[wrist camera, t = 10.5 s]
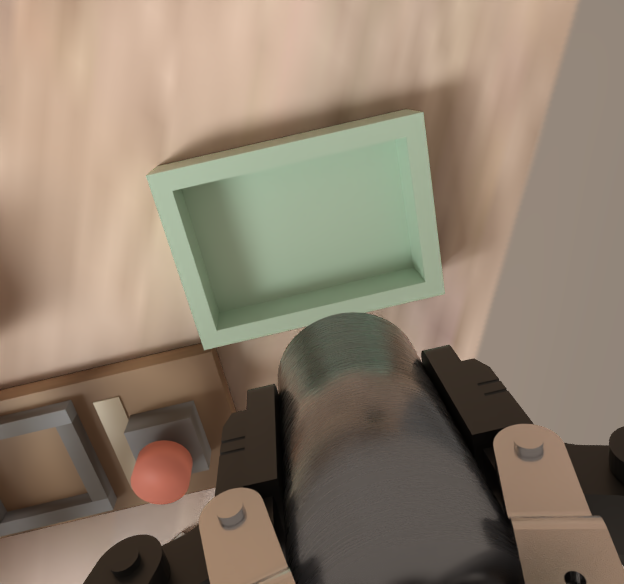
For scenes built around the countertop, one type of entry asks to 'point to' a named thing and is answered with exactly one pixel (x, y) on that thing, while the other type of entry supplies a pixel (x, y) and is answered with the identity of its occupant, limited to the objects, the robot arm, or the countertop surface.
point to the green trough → (303, 227)
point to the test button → (162, 472)
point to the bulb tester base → (105, 434)
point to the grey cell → (379, 467)
